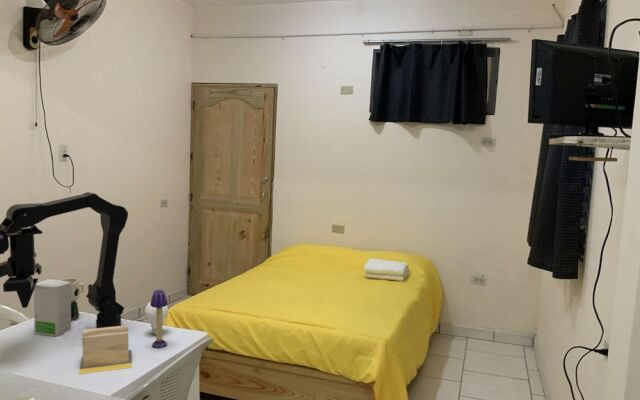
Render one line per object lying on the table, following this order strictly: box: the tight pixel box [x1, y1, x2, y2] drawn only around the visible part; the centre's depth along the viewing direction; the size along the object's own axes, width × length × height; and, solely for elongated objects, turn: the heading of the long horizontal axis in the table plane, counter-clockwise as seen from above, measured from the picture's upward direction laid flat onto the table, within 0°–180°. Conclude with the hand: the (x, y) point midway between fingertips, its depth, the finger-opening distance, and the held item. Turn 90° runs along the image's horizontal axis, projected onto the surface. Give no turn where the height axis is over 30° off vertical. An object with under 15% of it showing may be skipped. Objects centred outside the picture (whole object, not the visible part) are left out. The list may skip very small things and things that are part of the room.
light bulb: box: [144, 301, 169, 336], centre depth 153 cm, size 7×7×11 cm
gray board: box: [78, 349, 133, 375], centre depth 134 cm, size 12×13×1 cm
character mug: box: [58, 277, 85, 321], centre depth 164 cm, size 11×7×13 cm, turn 142°
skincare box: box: [33, 278, 72, 338], centre depth 154 cm, size 8×7×16 cm
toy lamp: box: [150, 289, 168, 350], centre depth 144 cm, size 5×5×17 cm
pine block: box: [81, 324, 130, 368], centre depth 135 cm, size 6×11×8 cm, turn 111°
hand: (25, 307), depth 138 cm, fingers closed
